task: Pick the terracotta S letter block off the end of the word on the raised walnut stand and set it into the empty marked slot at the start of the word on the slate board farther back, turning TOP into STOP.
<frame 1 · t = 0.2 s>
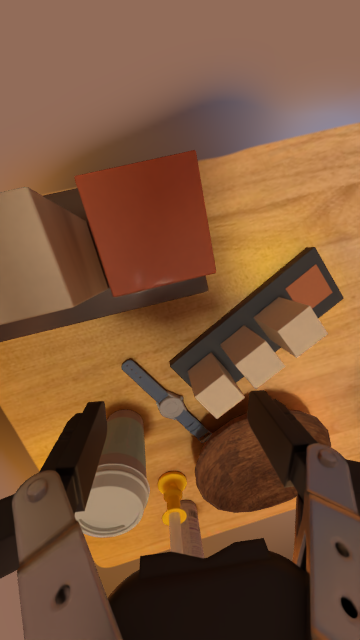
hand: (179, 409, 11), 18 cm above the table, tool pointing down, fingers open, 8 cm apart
far board: (252, 329, 30), on the table
candle: (172, 480, 37), on the table
bowl: (250, 438, 36), on the table
wristwatch: (170, 401, 32), on the table
container: (184, 507, 39), on the table
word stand: (109, 263, 26), on the table
coffee cup: (125, 423, 33), on the table
tile s: (154, 243, 13), point 13 cm above the table, touching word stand
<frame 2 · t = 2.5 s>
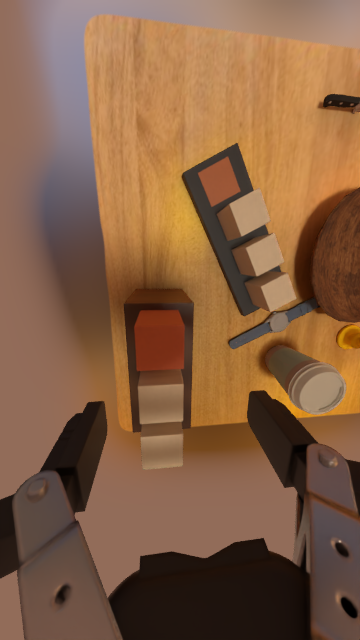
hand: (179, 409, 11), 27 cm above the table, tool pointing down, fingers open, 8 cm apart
far board: (237, 240, 35), on the table
candle: (347, 336, 42), on the table
bowl: (343, 258, 38), on the table
wristwatch: (274, 320, 40), on the table
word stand: (160, 336, 38), on the table
coffee cup: (277, 357, 42), on the table
tile s: (159, 328, 24), point 13 cm above the table, touching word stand
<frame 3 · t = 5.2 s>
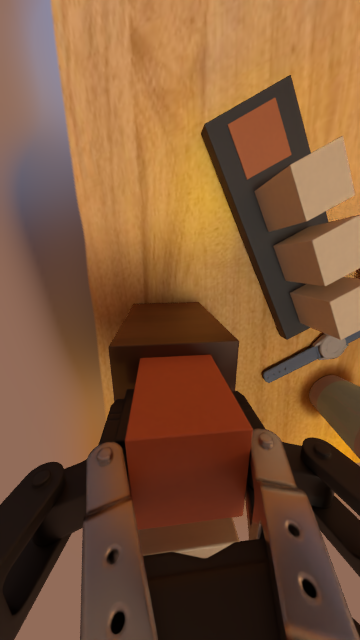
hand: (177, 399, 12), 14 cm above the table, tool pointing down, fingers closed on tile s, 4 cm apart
far board: (280, 231, 24), on the table
wristwatch: (324, 343, 29), on the table
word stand: (168, 368, 27), on the table
coffee cup: (325, 390, 31), on the table
tile s: (176, 386, 13), point 13 cm above the table, touching gripper, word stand
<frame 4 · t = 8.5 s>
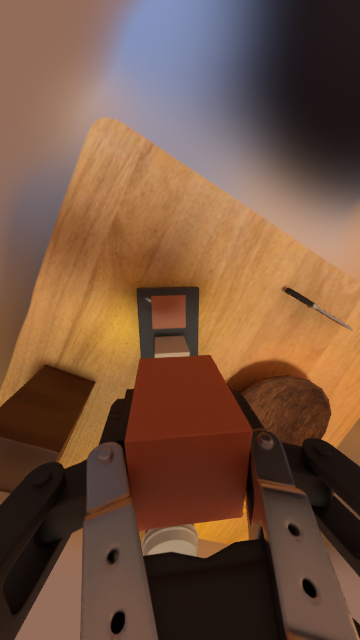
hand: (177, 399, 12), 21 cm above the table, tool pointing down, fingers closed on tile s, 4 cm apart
far board: (169, 362, 34), on the table
bowl: (258, 412, 39), on the table
knife: (314, 308, 35), on the table
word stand: (52, 417, 34), on the table
coffee cup: (167, 473, 41), on the table
tile s: (176, 387, 13), point 19 cm above the table, touching gripper
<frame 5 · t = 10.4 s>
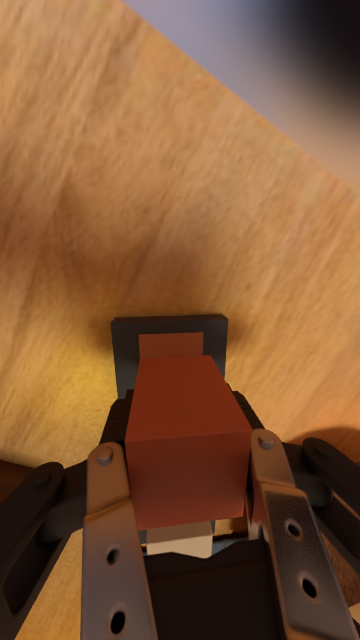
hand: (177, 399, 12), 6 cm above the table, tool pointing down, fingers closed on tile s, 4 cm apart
far board: (172, 436, 20), on the table
bowl: (308, 499, 25), on the table
wristwatch: (182, 545, 25), on the table
tile s: (176, 387, 13), point 5 cm above the table, touching gripper
when the fingers open (3 cm above the table, at t = 11.8 s): tile s stays where it is, resting on far board.
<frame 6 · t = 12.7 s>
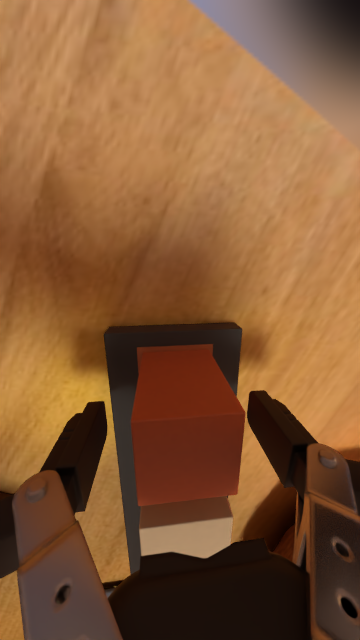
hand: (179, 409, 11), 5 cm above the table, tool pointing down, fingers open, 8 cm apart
far board: (175, 459, 18), on the table
bowl: (325, 524, 23), on the table
tile s: (176, 379, 14), point 2 cm above the table, touching far board
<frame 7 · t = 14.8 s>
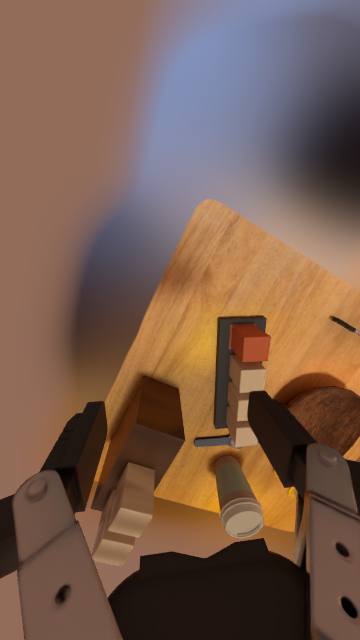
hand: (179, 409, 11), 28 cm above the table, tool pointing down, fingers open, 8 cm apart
far board: (236, 373, 43), on the table
bowl: (303, 415, 48), on the table
knife: (354, 332, 43), on the table
wristwatch: (235, 437, 48), on the table
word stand: (143, 415, 44), on the table
coffee cup: (225, 463, 50), on the table
tile s: (242, 336, 39), point 2 cm above the table, touching far board
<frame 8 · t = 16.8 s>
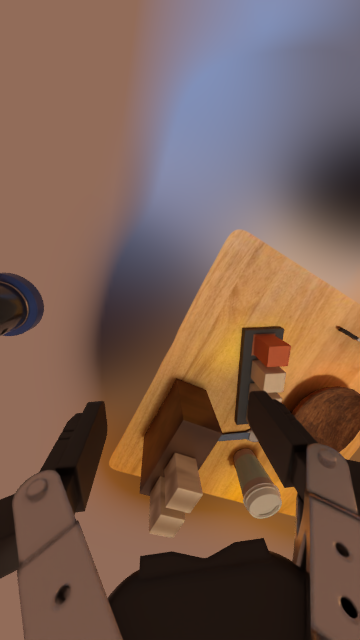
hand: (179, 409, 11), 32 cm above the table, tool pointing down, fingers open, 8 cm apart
far board: (256, 376, 49), on the table
bowl: (311, 411, 54), on the table
knife: (356, 339, 50), on the table
wristwatch: (253, 432, 54), on the table
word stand: (174, 413, 50), on the table
coffee cup: (243, 456, 56), on the table
tile s: (263, 344, 45), point 2 cm above the table, touching far board
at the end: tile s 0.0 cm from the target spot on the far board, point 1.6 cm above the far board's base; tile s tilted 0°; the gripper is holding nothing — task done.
